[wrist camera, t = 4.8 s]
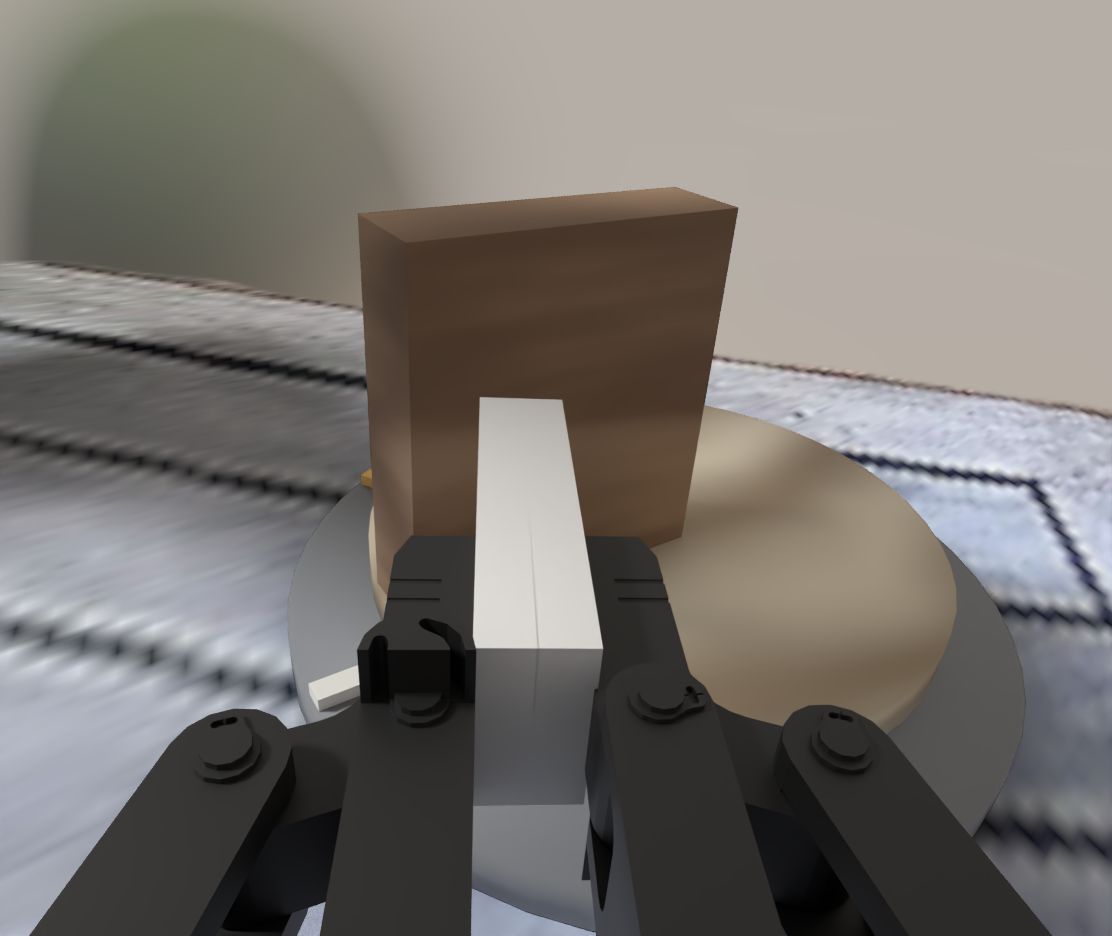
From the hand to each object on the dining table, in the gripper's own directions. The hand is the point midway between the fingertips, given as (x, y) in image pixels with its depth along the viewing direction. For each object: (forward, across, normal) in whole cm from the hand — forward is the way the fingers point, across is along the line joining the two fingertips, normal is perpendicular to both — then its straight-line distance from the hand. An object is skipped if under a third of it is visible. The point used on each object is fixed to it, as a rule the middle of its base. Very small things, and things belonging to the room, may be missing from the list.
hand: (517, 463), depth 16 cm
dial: (+8, +5, -8) cm, 13 cm away
